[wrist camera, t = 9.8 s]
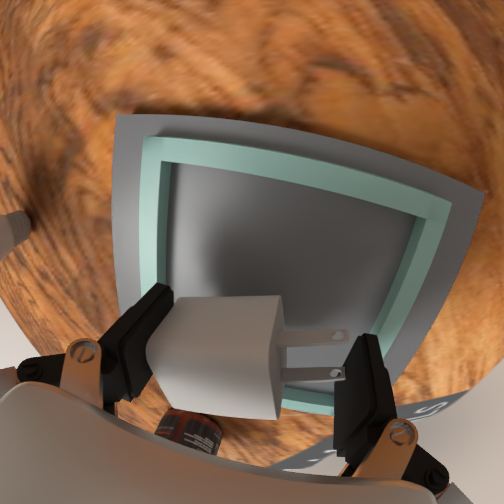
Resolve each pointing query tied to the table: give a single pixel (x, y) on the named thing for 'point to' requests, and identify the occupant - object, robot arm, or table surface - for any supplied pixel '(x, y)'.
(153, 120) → the board
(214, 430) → the supplement bottle
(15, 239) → the lightbulb
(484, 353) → the table surface
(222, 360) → the usb wall charger
